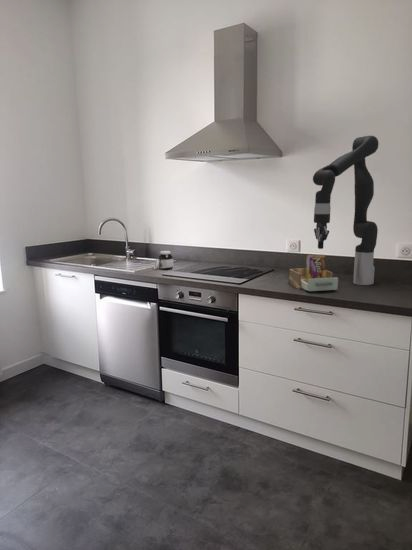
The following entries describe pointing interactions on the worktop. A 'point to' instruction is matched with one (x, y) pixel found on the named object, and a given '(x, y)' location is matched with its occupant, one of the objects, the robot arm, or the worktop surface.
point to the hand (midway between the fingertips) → (320, 248)
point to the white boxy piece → (320, 284)
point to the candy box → (315, 267)
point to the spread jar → (164, 261)
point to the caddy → (301, 277)
